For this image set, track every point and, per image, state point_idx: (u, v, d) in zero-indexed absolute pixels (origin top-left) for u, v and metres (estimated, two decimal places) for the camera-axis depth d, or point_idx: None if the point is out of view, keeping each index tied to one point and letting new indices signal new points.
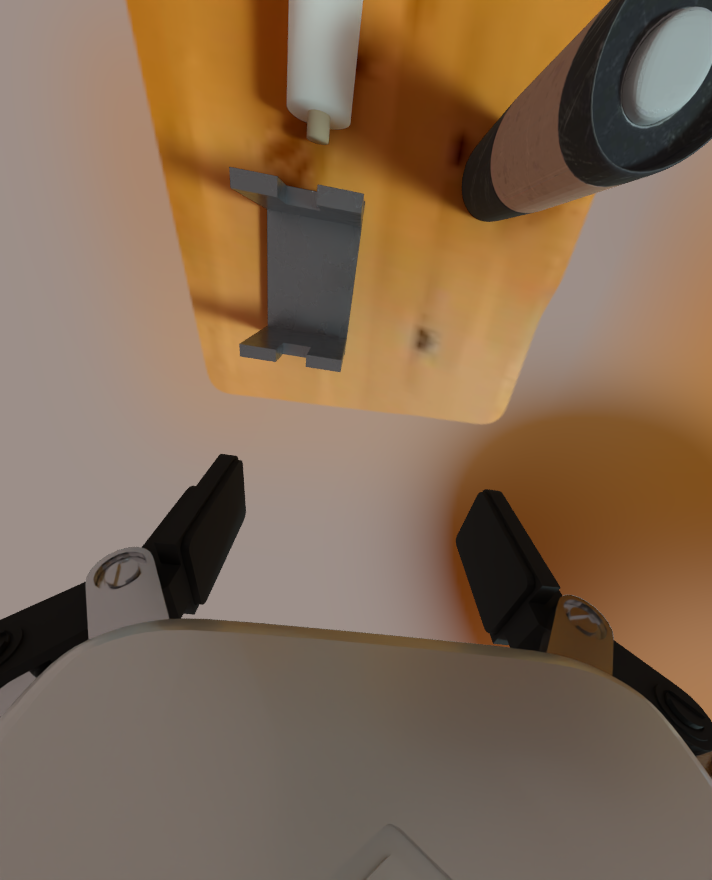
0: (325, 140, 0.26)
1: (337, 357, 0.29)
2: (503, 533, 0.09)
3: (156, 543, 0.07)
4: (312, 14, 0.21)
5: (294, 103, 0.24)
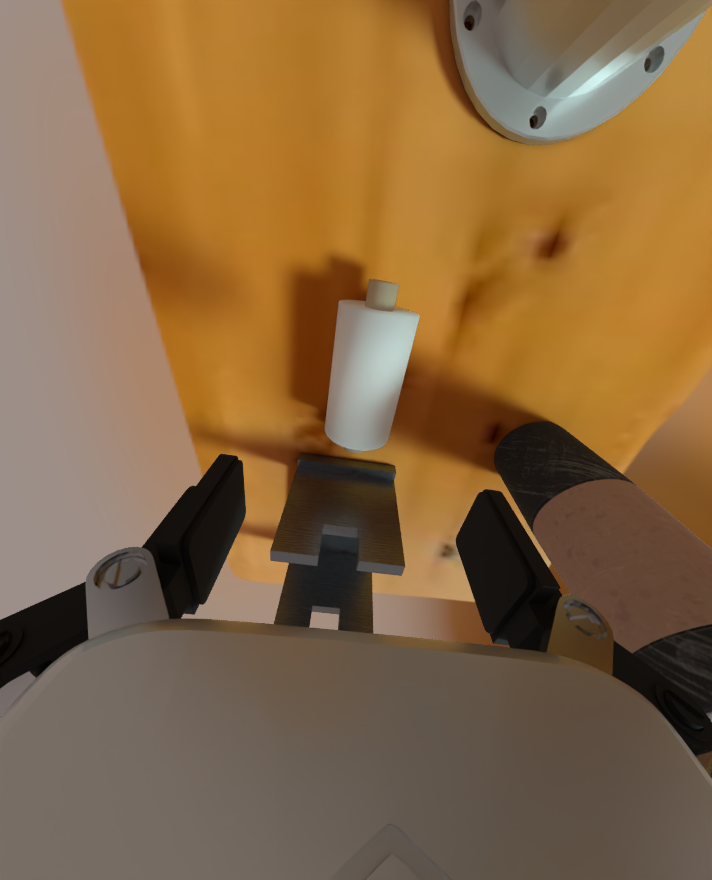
0: None
1: None
2: (503, 533, 0.09)
3: (156, 543, 0.07)
4: (360, 401, 0.20)
5: None
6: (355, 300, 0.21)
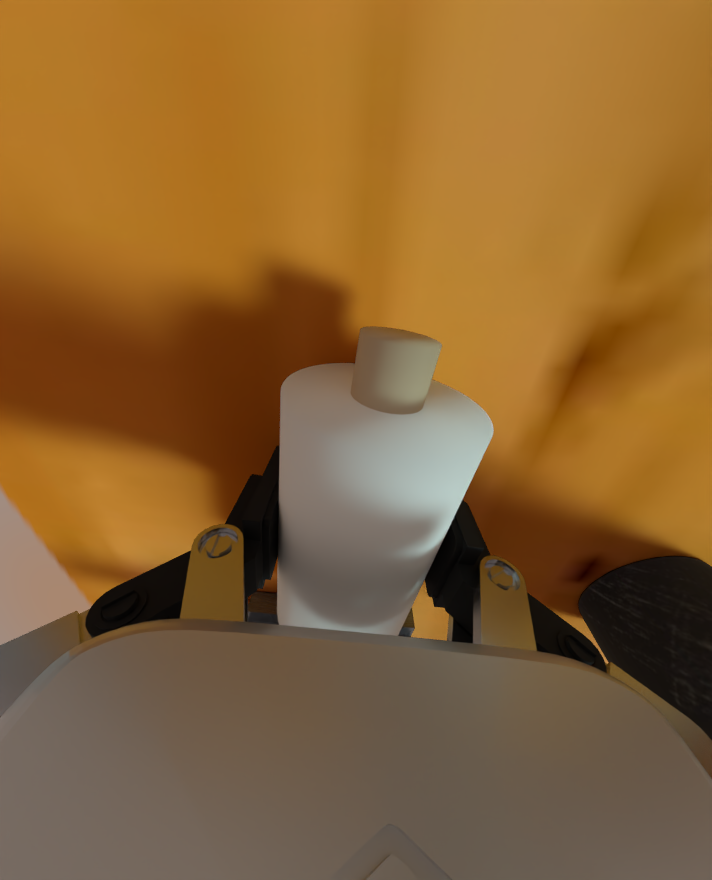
0: None
1: None
2: None
3: (244, 520, 0.08)
4: (335, 612, 0.08)
5: None
6: (335, 365, 0.09)
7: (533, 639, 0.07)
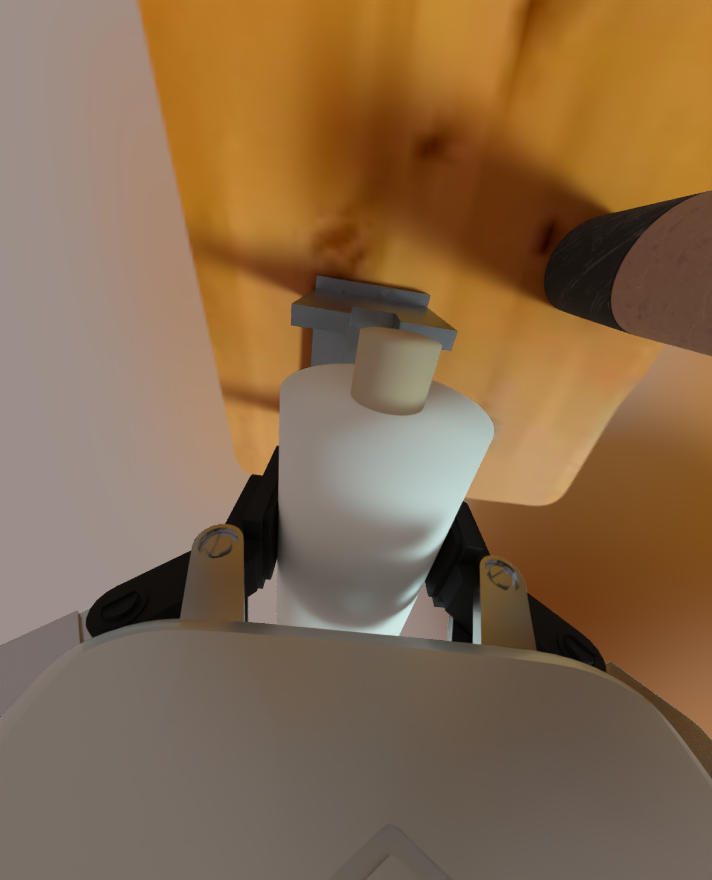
0: None
1: None
2: None
3: (244, 520, 0.08)
4: (335, 614, 0.08)
5: None
6: (335, 366, 0.09)
7: (533, 639, 0.07)
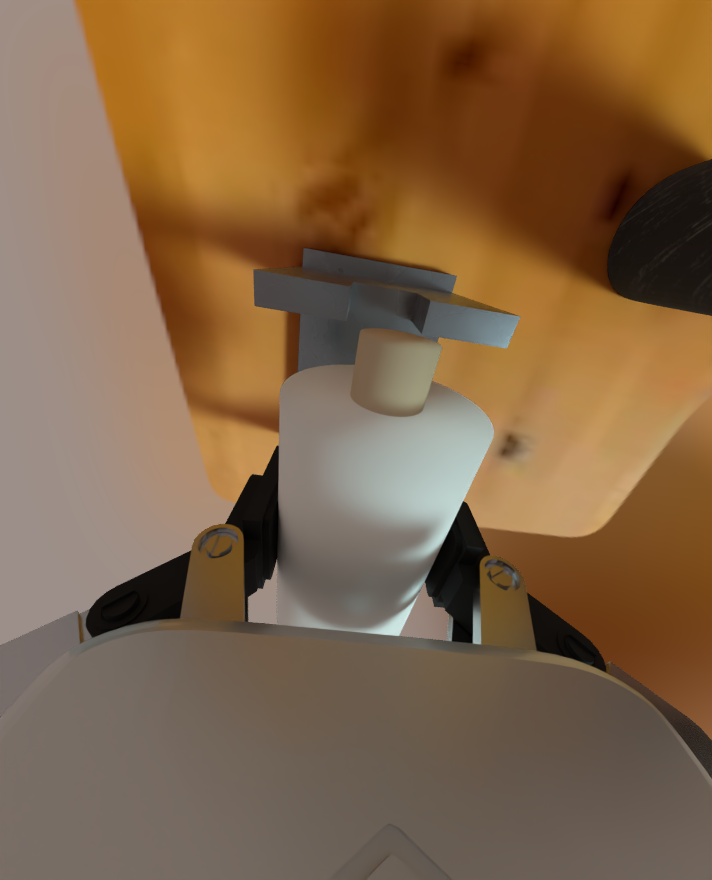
0: None
1: None
2: None
3: (244, 520, 0.08)
4: (335, 615, 0.08)
5: None
6: (335, 367, 0.09)
7: (533, 639, 0.07)
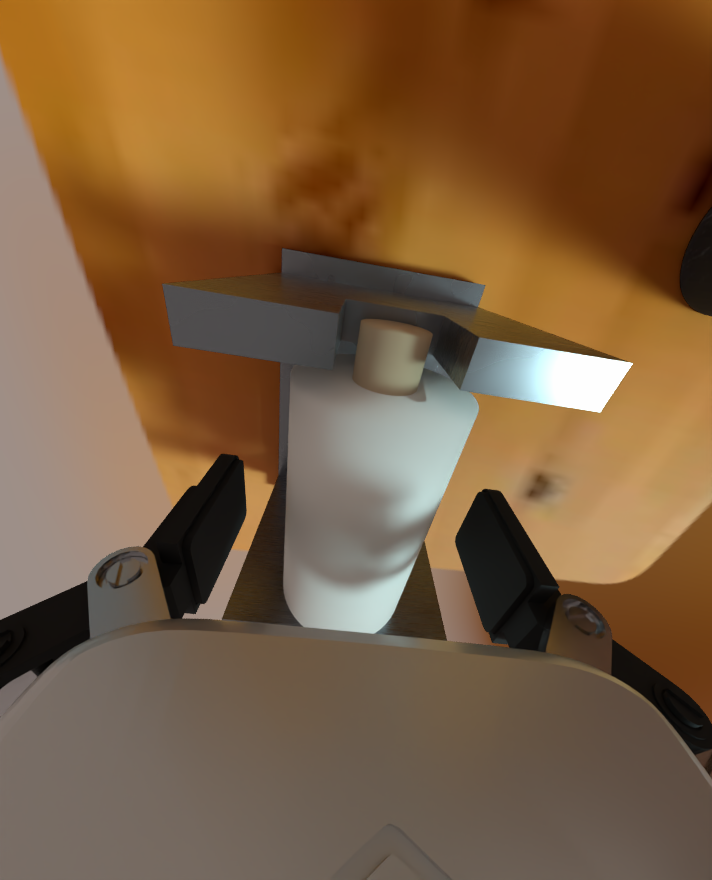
0: None
1: (433, 622, 0.14)
2: (502, 532, 0.09)
3: (157, 542, 0.07)
4: (338, 577, 0.09)
5: None
6: (338, 356, 0.10)
7: None
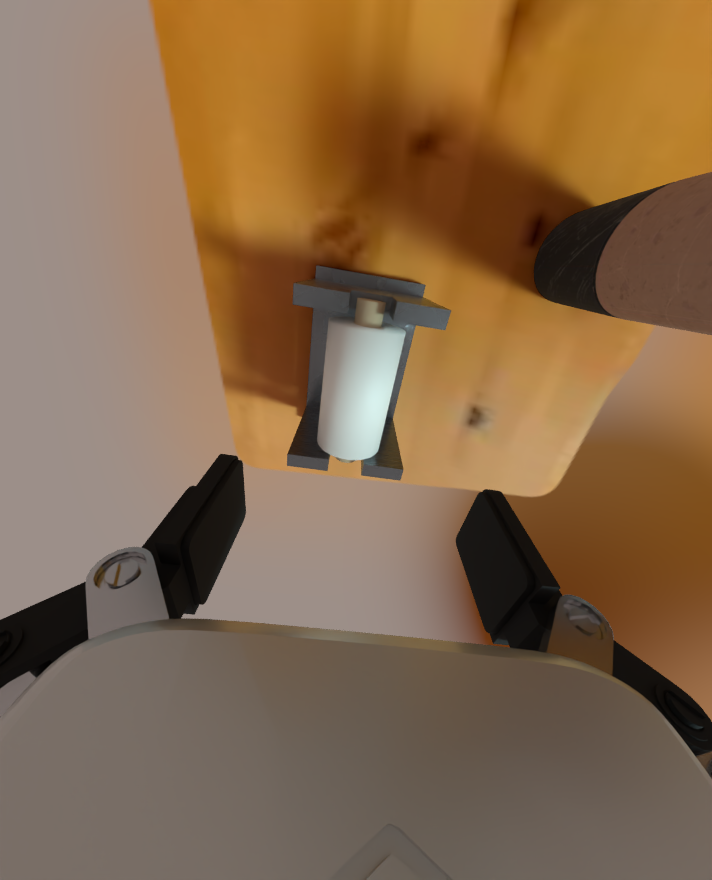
0: (353, 459, 0.26)
1: (397, 463, 0.25)
2: (503, 533, 0.09)
3: (156, 543, 0.07)
4: (347, 412, 0.21)
5: None
6: (347, 317, 0.22)
7: None
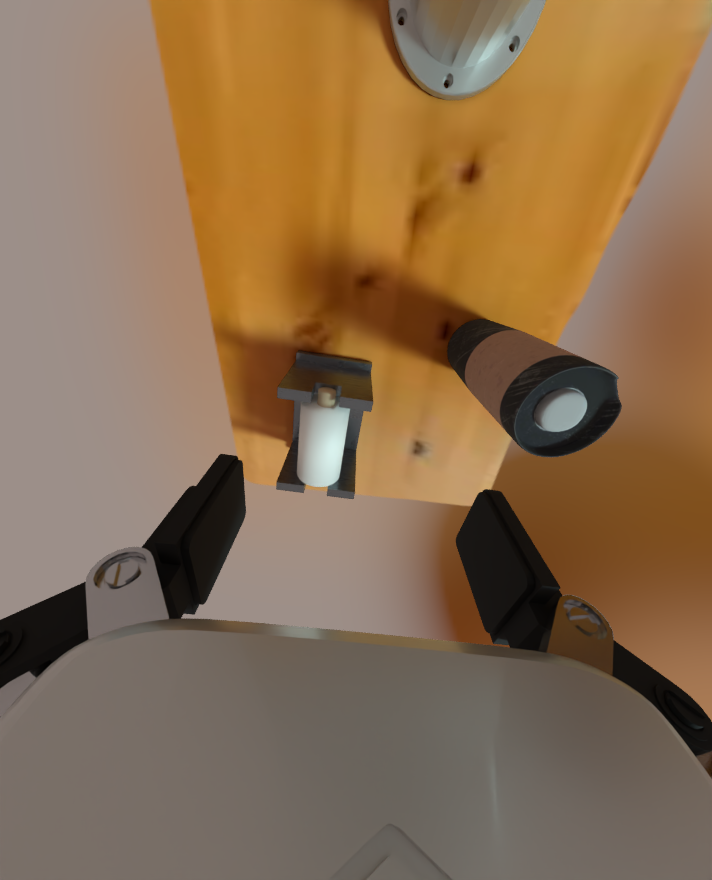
0: None
1: (351, 488, 0.37)
2: (503, 533, 0.09)
3: (156, 543, 0.07)
4: (313, 458, 0.33)
5: None
6: (315, 394, 0.34)
7: None
